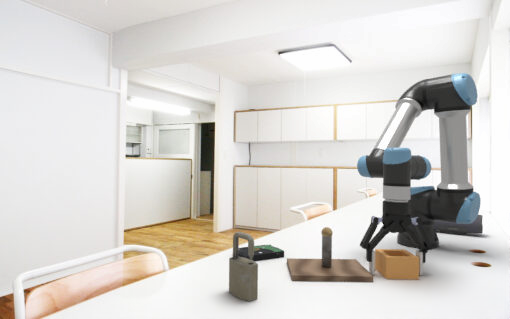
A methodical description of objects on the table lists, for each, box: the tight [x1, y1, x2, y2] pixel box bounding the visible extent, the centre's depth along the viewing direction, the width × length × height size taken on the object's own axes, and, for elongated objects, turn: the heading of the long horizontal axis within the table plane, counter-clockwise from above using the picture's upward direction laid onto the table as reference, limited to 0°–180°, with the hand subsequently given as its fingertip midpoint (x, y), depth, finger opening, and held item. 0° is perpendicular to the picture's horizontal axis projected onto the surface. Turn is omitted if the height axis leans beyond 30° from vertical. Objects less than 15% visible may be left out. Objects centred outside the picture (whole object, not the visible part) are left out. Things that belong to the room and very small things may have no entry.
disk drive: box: [238, 244, 285, 262], centre depth 115 cm, size 10×3×15 cm
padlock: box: [228, 231, 259, 302], centre depth 81 cm, size 4×8×15 cm, turn 40°
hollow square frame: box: [374, 248, 420, 280], centre depth 98 cm, size 9×9×6 cm
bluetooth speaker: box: [434, 214, 484, 236], centre depth 157 cm, size 23×9×10 cm, turn 58°
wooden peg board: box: [286, 226, 374, 283], centre depth 99 cm, size 22×16×13 cm
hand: (395, 273), depth 98 cm, fingers open, 13 cm apart
